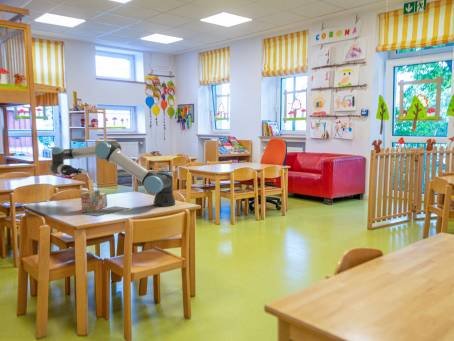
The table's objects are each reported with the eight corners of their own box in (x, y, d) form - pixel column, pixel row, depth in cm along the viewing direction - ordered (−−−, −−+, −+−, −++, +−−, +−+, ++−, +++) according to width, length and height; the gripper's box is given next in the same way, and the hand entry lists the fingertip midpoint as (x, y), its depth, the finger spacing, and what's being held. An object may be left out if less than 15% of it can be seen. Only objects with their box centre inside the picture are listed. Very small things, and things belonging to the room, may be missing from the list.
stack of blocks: (98, 206, 282) (98, 188, 281) (107, 206, 281) (106, 188, 280) (81, 212, 262) (80, 192, 261) (90, 212, 260) (89, 192, 259)
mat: (129, 208, 275) (129, 208, 275) (97, 216, 251) (97, 215, 251) (115, 206, 281) (115, 206, 281) (82, 213, 257) (82, 213, 257)
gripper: (74, 174, 294) (93, 177, 280) (56, 176, 284) (76, 178, 270) (73, 164, 294) (93, 166, 279) (56, 165, 283) (76, 167, 269)
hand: (85, 172), depth 274 cm, fingers closed
